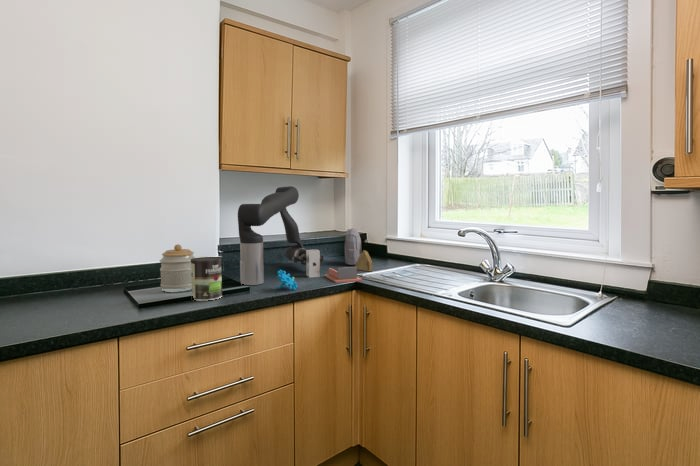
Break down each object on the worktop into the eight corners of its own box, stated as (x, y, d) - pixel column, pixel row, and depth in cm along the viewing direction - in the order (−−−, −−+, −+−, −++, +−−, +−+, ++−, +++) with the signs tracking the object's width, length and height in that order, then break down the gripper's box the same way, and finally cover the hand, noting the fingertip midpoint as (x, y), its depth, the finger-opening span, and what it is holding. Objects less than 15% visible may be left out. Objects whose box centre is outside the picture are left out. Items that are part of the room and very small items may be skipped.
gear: (290, 288, 142) (275, 268, 144) (280, 299, 143) (264, 279, 145) (303, 286, 152) (288, 268, 155) (293, 296, 153) (279, 277, 156)
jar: (189, 284, 157) (188, 242, 156) (202, 289, 148) (201, 244, 146) (155, 289, 148) (154, 244, 146) (167, 295, 139) (166, 247, 137)
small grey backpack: (349, 262, 216) (349, 227, 214) (363, 262, 214) (363, 227, 213) (343, 266, 201) (343, 228, 200) (358, 267, 200) (359, 229, 198)
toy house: (379, 267, 186) (374, 261, 196) (369, 253, 184) (365, 248, 194) (361, 280, 186) (357, 273, 196) (351, 267, 184) (348, 261, 194)
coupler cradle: (336, 283, 160) (336, 269, 159) (324, 276, 175) (324, 263, 174) (362, 280, 164) (362, 267, 164) (348, 274, 179) (348, 262, 179)
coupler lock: (309, 277, 171) (309, 251, 170) (306, 275, 176) (306, 249, 175) (320, 276, 173) (319, 250, 172) (316, 274, 178) (316, 249, 177)
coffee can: (228, 296, 136) (227, 257, 135) (204, 303, 128) (203, 261, 127) (210, 293, 142) (209, 255, 141) (185, 299, 133) (184, 259, 132)
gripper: (289, 249, 187) (296, 253, 172) (316, 248, 193) (326, 251, 178) (289, 264, 188) (297, 269, 173) (316, 262, 193) (326, 267, 178)
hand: (312, 260), depth 175 cm, fingers open, 8 cm apart
